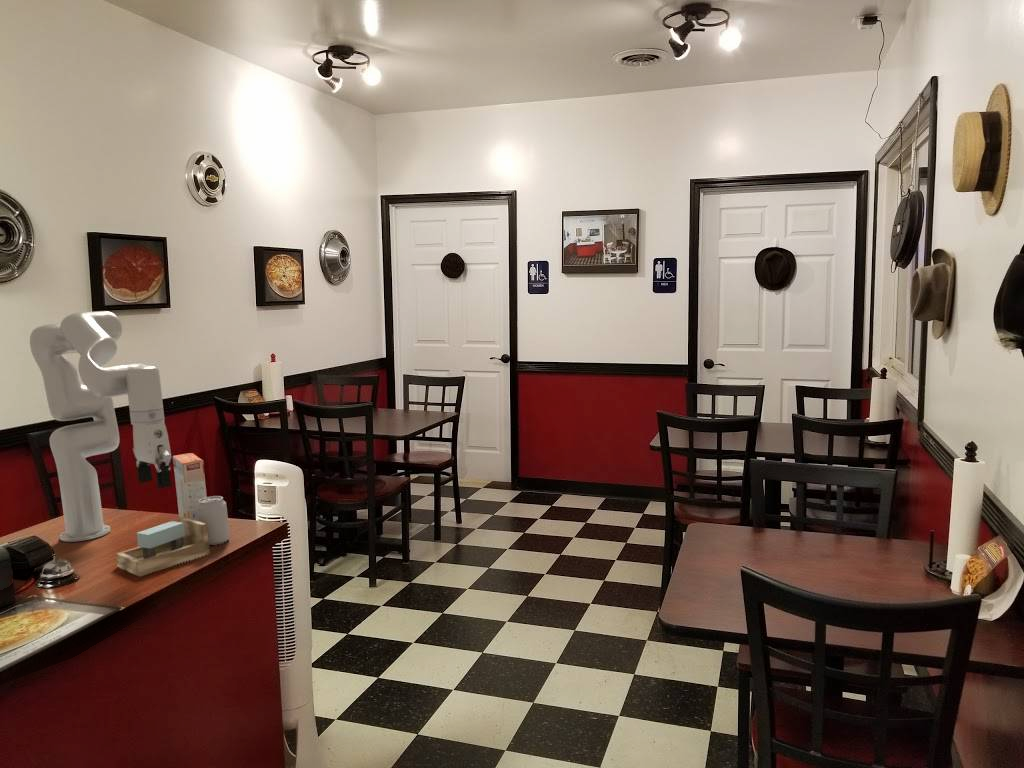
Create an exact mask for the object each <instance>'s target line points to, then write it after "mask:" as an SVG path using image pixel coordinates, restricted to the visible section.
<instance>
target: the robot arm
mask: <svg viewBox="0 0 1024 768" xmlns="http://www.w3.org/2000/svg"><path fill="white" fill-rule="evenodd" d="M122 333H123V325H122V323H121V321H120V319H119V317H118V316H117V315H116V314H115V313H113V312H111V311H107V310H99V311H87V312H86V311H84V312H74V313H71V314H68V315H67V316H65V317H64V318H63V319H62V320H61V322H55V323H48V324H43V325H40V326H38V327H36V328H34V329H33V330H32V331H31V332H30V337H29V348H30V351H31V354H32V356H33V359H34V360H35V363H36V365H37V367H38V369H39V370H40V372H41V375H42V376H41V377H42V380H43V386H44V390H45V395H46V399H47V400H46V401H47V404H48V409H49V411H50V413H49V414H50V415H51V416H52V418H53V419H54V420H55V421H59V422H67V421H76V420H80V419H86V418H93V421H89V422H83V423H76V424H70V425H65V426H62V427H59V428H57V429H55V430H54V431H53V432H52V433H51V435H50V437H49V447H50V449H51V452H52V456H53V458H54V462H55V466H56V471H57V477H58V482H59V483H58V484H59V490H60V499H61V504H62V505H61V506H62V513H63V521H64V527H65V531H64V532H62V533H61V534H60V535H59V539H60V541H62V542H66V543H67V542H68V543H75V542H83V541H84V542H85V541H90V540H92V539H98V538H100V537H103V536H105V535H107V534H108V533H110V532H111V526H110V525H107V524H105V523H104V517H103V511H102V510H103V509H102V500H101V493H100V486H99V479H98V472H97V470H96V468H95V466H93V465H92V464H91V463H90V462H89V461H87V459H86V458H89V457H92V456H98V455H102V454H108V453H111V452H113V451H115V450H116V449H118V447H119V445H120V432H119V426H118V421H117V416H116V412H115V406H114V402H113V398H115V397H119V396H127V399H128V400H127V401H128V408H129V418H130V425H132V440H133V447H132V451H133V454H134V460H135V461H136V463H135V465H136V469H137V477H138V478H137V479H138V483H139V484H143V483H146V482H147V483H148V482H151V481H152V480H153V474H152V465H154V466H155V469H156V472H155V477H156V487H157V489H163V488H168V487H171V486H172V481H171V463H172V462H171V459H172V452H171V445H170V440H169V434H168V430H167V426H166V424H165V413H164V412H165V411H164V405H163V404H164V402H163V394H162V387H161V386H162V384H161V375H160V370H159V368H158V367H156V366H153V365H145V364H143V363H129V364H119V365H110V366H104V365H106V364H108V363H109V362H110V361H111V360H112V359H113V358H114V356H115V355H116V353H117V349H118V346H117V341H118V340H119V339H120V338H121V336H122ZM77 353H78V354H79V355H80V357H79V360H78V365H77V367H78V368H77V367H76V366H75V365H74V363H72V362H71V361H70V359H68V358H67V357H66V356H64V355H65V354H77ZM103 366H104V367H103ZM78 373H79V374H78ZM79 377H80V380H81V382H82V383H81V382H80V380H79Z"/></svg>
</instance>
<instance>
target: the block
mask: <svg viewBox="0 0 1024 768" xmlns="http://www.w3.org/2000/svg"><path fill="white" fill-rule="evenodd" d="M184 536H185V533H184V524H183V523H181V522H179V521H174V520H171V521H168V522H165V523H162V524H159V525H156V526H153V527H150V528H147V529H144V530H141V531H138V532H136V538H137V547H144V548H149V549H150V548H153V547H156V546H159V545H162V544H164V543H167V542H170V541H173V540H176V539H178V538H181V537H184Z"/></svg>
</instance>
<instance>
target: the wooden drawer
mask: <svg viewBox="0 0 1024 768" xmlns="http://www.w3.org/2000/svg"><path fill="white" fill-rule="evenodd" d="M178 522H181V523H183V524H184V533H185V536H184V537H181V538H178V539H176V540H173V541H170V542H167V543H164V544H162V545H159V546H156V547H153V548H150V549H149V548H144V547H138V546H136V547H134V548H130V549H129V548H128V549H126V550H122V551H120V552H119V551H118V552H116V553H115V560H116V568H118V567H119V568H118V569H121V570H124V571H125V570H126V571H125V572H128V573H130V574H132V575H135V576H137V577H140V578H141V577H143V576H146V575H149V573H150V574H152V572H153V573H155V571H156V572H159V571H161V570H164V569H168V568H171V567H175V566H178V565H181V564H184V563H186V561H187V562H190V561H193V560H196V559H199V558H203V557H206V556H209V555H211V550H210V546H209V540H208V531H207V524H206V523H202V522H199V521H196V520H192V519H189V518H186V517H180V518H179V517H178ZM208 554H209V555H208ZM205 555H206V556H205ZM202 556H203V557H202ZM198 557H199V558H198ZM195 558H196V559H195ZM189 560H190V561H189ZM183 562H184V563H183ZM180 563H181V564H180ZM177 564H178V565H177ZM174 565H175V566H174Z"/></svg>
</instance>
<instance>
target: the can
mask: <svg viewBox="0 0 1024 768" xmlns="http://www.w3.org/2000/svg"><path fill="white" fill-rule="evenodd" d="M198 502H199V504H198V505H197V506H196V510H197V519H198V521H199V522H202V523H206V524H207V531H208V540H209V545H214V546H218V545H217V544H219V545H222V544H224V542H225V543H226V542H227V541H228V540H229V539H230V537H231V534H230V528H229V516H228V507H227V502H226V501H225V500H224V497H223V496H221V495H213V496H211V495H210V496H207V497H206V498H202V499H200V500H199V501H198ZM221 543H222V544H221Z"/></svg>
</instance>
